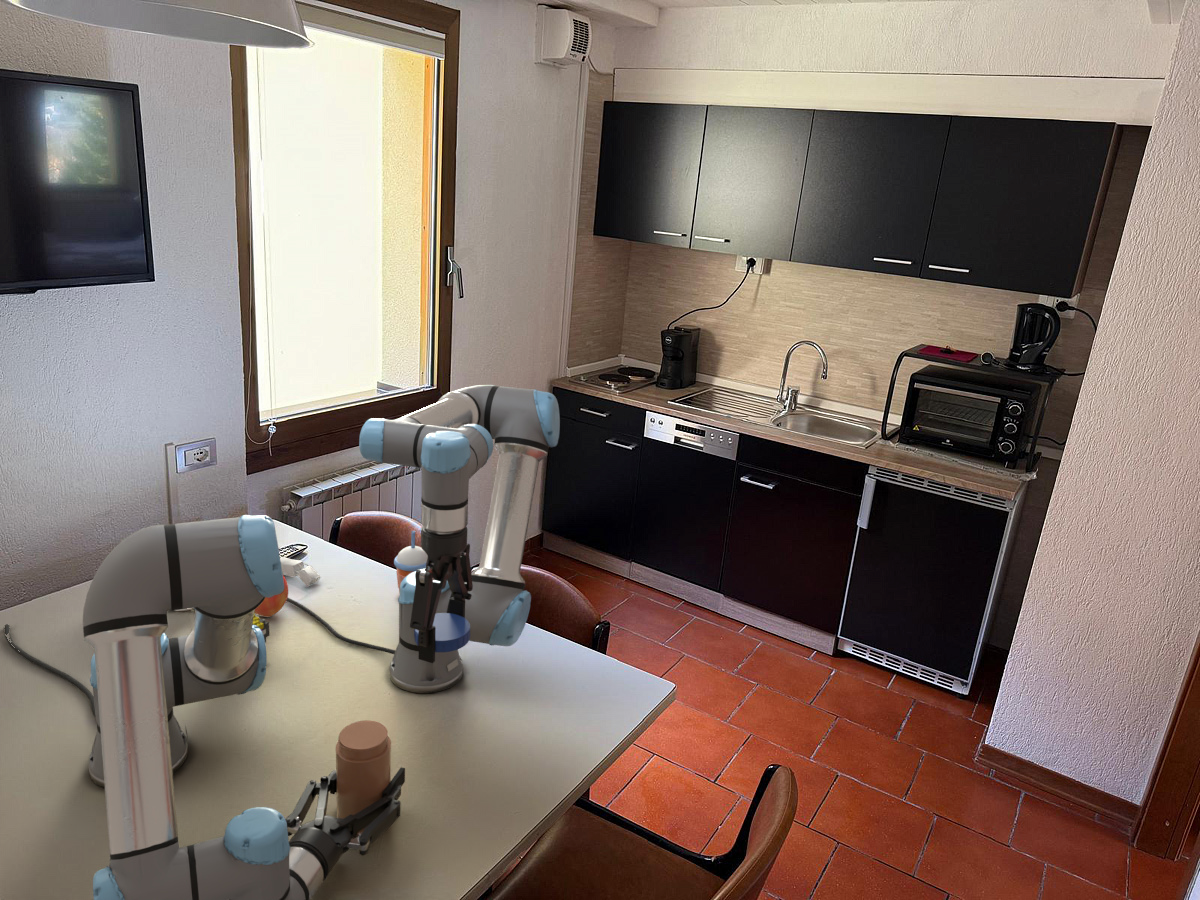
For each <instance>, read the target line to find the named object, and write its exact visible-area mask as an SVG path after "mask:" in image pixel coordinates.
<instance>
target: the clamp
mask: <svg viewBox="0 0 1200 900" xmlns="http://www.w3.org/2000/svg"><path fill="white" fill-rule="evenodd" d="M278 548H279V550H280V549H281V547H279V546H278ZM280 561H281V567H282V574H283V576H288V577H292V578H296V577H298V578H299V579H300V580H301V582H303V584H304V585H305V587H309V586H312V585H314V584H316V583H318V582H319V580H320V579H321V578H322V577H321V575H320V574H319V573H318V572H317V570H315V569H314V568H313V566H312V565H310V564H309V565H308V564H307V563H305V562H304V561H303V560H301V559H300V560H299V559H292V558H289V557H285V556H280ZM305 566H306V567H305Z"/></svg>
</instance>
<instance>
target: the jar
mask: <svg viewBox="0 0 1200 900" xmlns="http://www.w3.org/2000/svg"><path fill="white" fill-rule="evenodd" d="M388 733H389V732H388V729H387V727H386V726H385V725H384V724H382V723H381V722H379V721H376V720H369V719H368V720H367V719H365V720H357V721H354V722H352V723H349V724H347V725H346V726H345V727H343V728H342V729H341V730H340V732H339V735H338V738H337V742H336V744H335V770H336V793H335V794H336V795H335V796H336V818H342V819H344V818H345V817H347V816H349V815H350V814H352V815H355V814H356V813H358V812H360V811H361V810H363V809H365V808H366V807H368V806H370V805H371V804H373V803H375V802H376V801H378V800H380V799H381V798H383V791H384V790H385V788H386V787H387V786H388V784H389V783H390V781H391V780H392V740H391V738H390V737H389V734H388ZM364 829H365V828H364ZM364 829H362V830H361V831H359V832H358V833H360V832H363V830H364ZM358 833H357V835H356V836H358Z"/></svg>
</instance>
